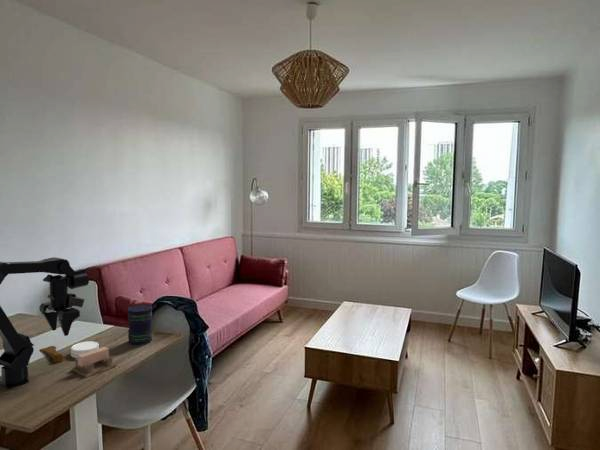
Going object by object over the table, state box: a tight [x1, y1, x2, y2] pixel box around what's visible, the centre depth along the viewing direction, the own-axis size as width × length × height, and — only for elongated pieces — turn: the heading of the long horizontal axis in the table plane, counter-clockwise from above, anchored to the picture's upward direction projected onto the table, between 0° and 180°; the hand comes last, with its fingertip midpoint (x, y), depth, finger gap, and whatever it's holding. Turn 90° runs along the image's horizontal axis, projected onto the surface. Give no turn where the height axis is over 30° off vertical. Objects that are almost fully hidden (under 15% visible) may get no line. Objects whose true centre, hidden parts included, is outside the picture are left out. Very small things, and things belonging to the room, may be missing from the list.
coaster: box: [70, 340, 100, 359], centre depth 163 cm, size 10×10×4 cm
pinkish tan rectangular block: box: [77, 346, 110, 367], centre depth 150 cm, size 10×3×4 cm, turn 145°
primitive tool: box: [39, 345, 65, 364], centre depth 162 cm, size 19×6×4 cm, turn 47°
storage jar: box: [127, 304, 153, 346], centre depth 177 cm, size 10×10×15 cm
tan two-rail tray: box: [71, 356, 117, 378], centre depth 150 cm, size 11×10×4 cm
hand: (60, 332), depth 151 cm, fingers open, 9 cm apart
